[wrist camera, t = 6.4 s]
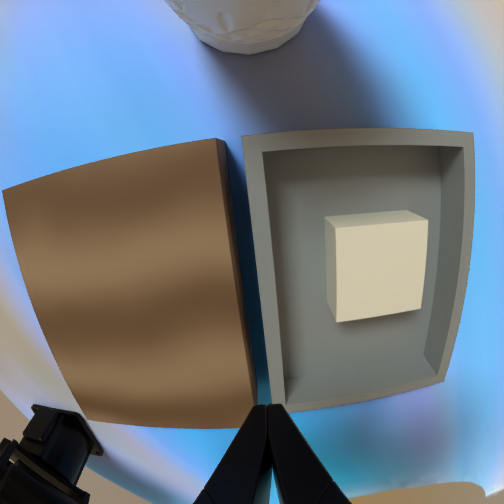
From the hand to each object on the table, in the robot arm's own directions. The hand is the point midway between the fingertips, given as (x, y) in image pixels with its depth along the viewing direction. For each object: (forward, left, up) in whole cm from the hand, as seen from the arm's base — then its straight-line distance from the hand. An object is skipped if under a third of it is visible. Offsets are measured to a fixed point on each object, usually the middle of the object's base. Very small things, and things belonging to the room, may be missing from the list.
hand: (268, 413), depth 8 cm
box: (0, -6, -10) cm, 12 cm away
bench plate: (0, +7, -10) cm, 12 cm away
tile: (+1, -6, -7) cm, 9 cm away
